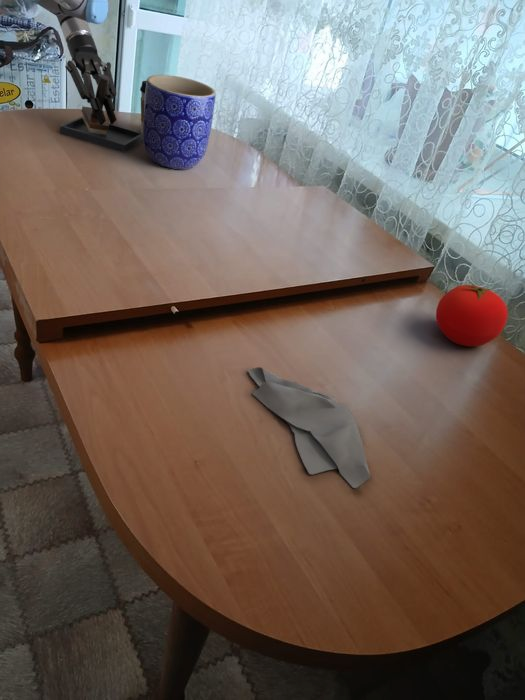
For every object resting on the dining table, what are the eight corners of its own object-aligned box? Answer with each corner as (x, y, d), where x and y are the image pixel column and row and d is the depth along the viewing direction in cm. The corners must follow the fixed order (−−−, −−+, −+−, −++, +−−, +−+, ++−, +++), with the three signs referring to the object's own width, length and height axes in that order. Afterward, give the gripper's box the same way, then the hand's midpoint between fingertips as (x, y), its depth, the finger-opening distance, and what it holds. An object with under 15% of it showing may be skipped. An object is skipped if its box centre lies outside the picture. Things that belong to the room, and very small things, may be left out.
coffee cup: (132, 133, 167) (135, 81, 158) (144, 127, 174) (148, 76, 165) (157, 141, 166) (162, 89, 157) (168, 135, 173) (174, 84, 164)
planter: (195, 180, 148) (206, 101, 136) (130, 163, 148) (135, 82, 136) (212, 160, 163) (223, 87, 150) (153, 144, 163) (159, 70, 151)
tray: (60, 133, 155) (59, 125, 153) (83, 122, 165) (83, 115, 164) (124, 152, 153) (124, 145, 152) (144, 140, 164) (144, 133, 163)
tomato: (495, 364, 107) (524, 317, 100) (427, 345, 107) (451, 296, 100) (486, 330, 117) (512, 285, 110) (424, 312, 117) (446, 266, 110)
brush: (80, 115, 160) (90, 66, 150) (98, 117, 163) (109, 70, 153) (88, 132, 156) (99, 84, 146) (107, 135, 159) (119, 87, 149)
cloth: (399, 474, 78) (405, 463, 77) (321, 500, 72) (326, 489, 70) (307, 360, 95) (311, 350, 94) (237, 372, 88) (240, 362, 87)
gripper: (100, 49, 160) (127, 127, 162) (48, 46, 151) (77, 129, 152) (110, 34, 155) (138, 115, 156) (57, 30, 145) (87, 116, 146)
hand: (108, 122), depth 154 cm, fingers closed on brush, 3 cm apart
